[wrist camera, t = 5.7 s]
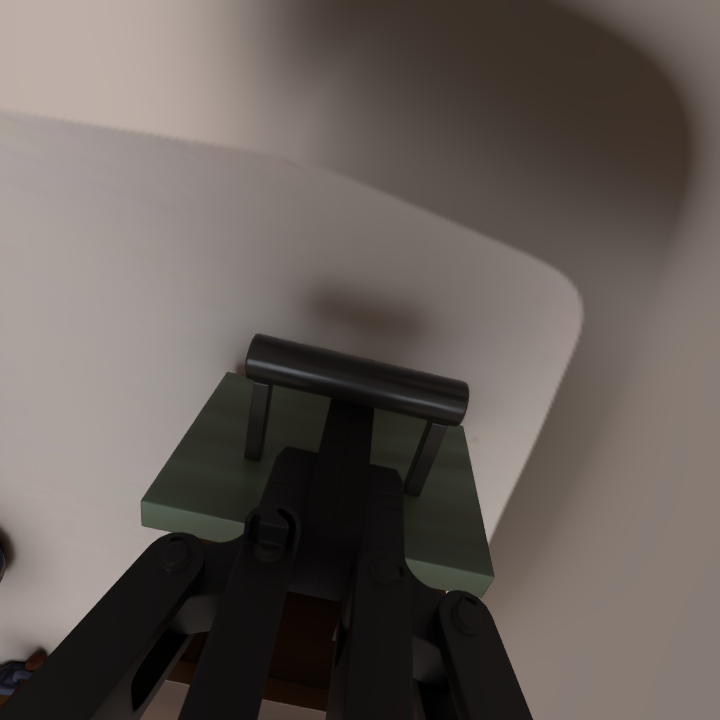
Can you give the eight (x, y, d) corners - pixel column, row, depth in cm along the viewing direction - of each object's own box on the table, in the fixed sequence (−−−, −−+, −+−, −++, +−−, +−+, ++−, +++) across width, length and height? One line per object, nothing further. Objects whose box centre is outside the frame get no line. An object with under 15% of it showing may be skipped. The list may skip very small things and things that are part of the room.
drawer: (235, 270, 18) (132, 366, 11) (503, 334, 18) (566, 465, 11) (212, 552, 27) (149, 699, 20) (391, 590, 27) (388, 747, 20)
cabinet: (211, 488, 25) (120, 671, 17) (420, 533, 26) (431, 733, 17) (202, 623, 32) (134, 798, 24) (365, 656, 33) (354, 839, 25)
